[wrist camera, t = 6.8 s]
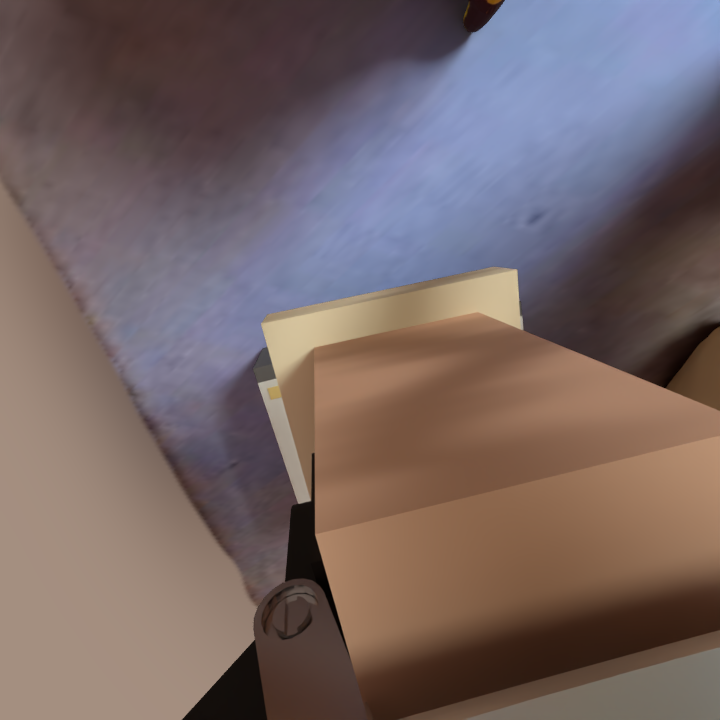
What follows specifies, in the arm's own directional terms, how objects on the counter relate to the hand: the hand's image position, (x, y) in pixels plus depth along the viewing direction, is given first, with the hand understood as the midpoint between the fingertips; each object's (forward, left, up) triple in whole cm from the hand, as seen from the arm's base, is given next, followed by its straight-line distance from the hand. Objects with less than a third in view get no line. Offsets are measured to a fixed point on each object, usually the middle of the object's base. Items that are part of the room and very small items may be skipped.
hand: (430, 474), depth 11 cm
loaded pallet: (0, 0, -3) cm, 3 cm away
